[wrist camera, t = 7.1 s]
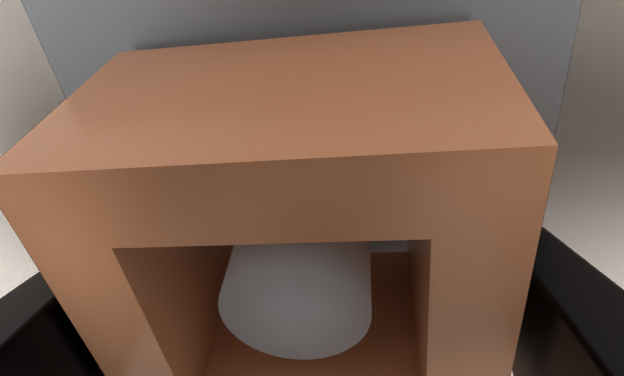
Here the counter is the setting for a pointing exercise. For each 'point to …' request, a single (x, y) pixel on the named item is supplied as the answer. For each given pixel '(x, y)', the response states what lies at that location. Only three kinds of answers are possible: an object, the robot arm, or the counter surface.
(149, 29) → the grey peg base
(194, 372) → the collar
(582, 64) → the counter surface
